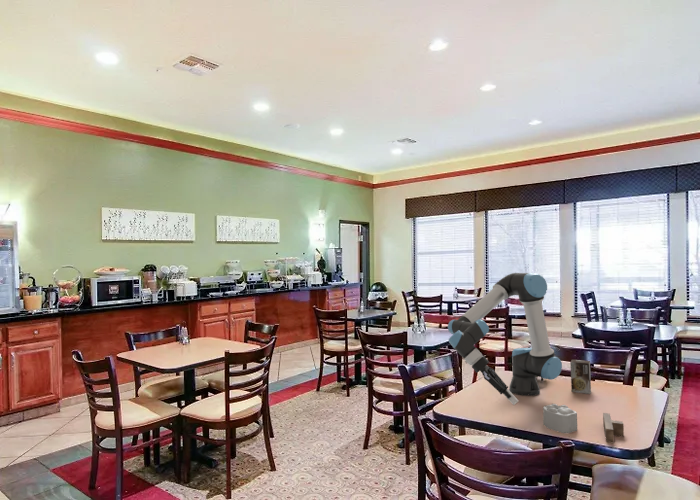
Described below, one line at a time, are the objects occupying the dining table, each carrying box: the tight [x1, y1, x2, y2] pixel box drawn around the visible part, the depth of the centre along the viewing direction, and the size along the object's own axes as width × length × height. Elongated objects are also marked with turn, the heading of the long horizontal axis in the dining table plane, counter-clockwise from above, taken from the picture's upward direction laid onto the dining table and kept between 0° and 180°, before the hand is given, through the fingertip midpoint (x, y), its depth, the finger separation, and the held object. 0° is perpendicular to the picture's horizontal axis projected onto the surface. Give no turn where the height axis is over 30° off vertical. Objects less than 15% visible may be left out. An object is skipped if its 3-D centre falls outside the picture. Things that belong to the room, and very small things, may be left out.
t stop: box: [602, 412, 625, 443], centre depth 180 cm, size 6×20×5 cm, turn 153°
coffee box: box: [569, 359, 592, 395], centre depth 238 cm, size 9×6×16 cm
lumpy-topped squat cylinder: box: [542, 403, 578, 434], centre depth 188 cm, size 10×13×9 cm
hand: (516, 402), depth 196 cm, fingers closed
